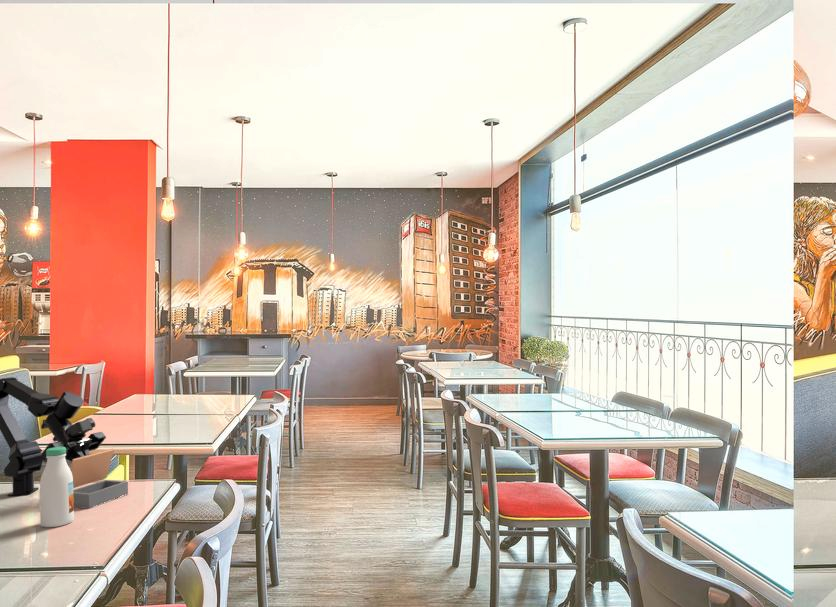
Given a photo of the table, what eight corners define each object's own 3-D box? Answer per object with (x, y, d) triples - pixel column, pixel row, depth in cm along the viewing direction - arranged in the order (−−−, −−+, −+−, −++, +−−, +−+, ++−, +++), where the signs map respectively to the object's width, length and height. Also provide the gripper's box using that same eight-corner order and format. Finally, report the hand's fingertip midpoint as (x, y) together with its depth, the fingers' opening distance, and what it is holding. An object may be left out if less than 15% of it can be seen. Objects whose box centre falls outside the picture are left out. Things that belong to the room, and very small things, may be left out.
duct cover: (66, 490, 177) (64, 489, 178) (106, 477, 190) (104, 476, 191) (74, 460, 176) (72, 459, 177) (114, 449, 189) (112, 448, 190)
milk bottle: (63, 527, 158) (61, 450, 158) (33, 528, 158) (32, 451, 158) (80, 518, 166) (78, 444, 166) (52, 518, 166) (50, 445, 166)
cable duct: (66, 506, 177) (66, 492, 177) (106, 492, 190) (105, 479, 190) (89, 508, 174) (89, 494, 174) (128, 494, 187) (127, 481, 187)
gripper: (47, 416, 177) (76, 455, 173) (101, 406, 195) (128, 442, 190) (28, 442, 180) (56, 481, 176) (83, 430, 197) (109, 466, 193)
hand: (89, 466), depth 184 cm, fingers closed, pressing on duct cover
